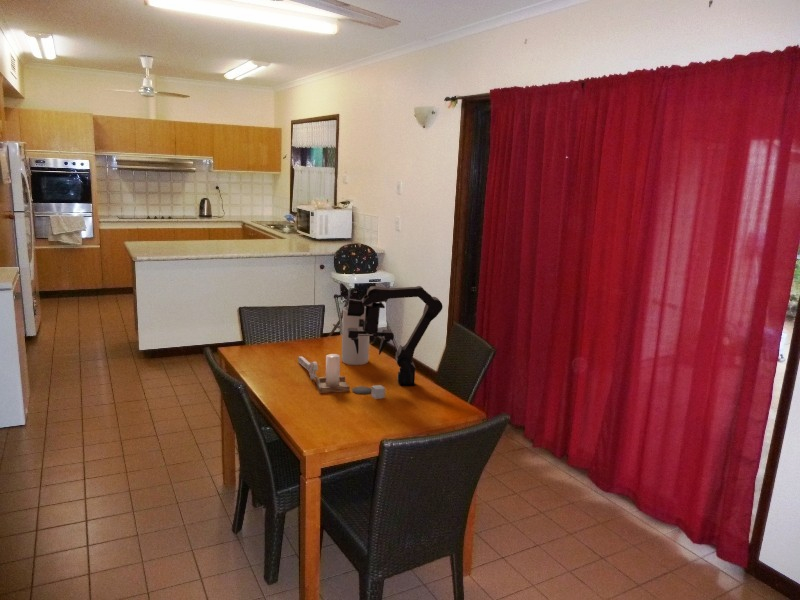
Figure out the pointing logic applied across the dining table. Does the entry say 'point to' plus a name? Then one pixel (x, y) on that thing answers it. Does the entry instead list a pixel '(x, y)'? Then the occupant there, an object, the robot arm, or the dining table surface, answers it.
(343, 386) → the bay
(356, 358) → the cylinder vase
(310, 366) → the wrench
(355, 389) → the coaster
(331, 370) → the white rounded tapered post
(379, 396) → the block
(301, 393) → the dining table surface
